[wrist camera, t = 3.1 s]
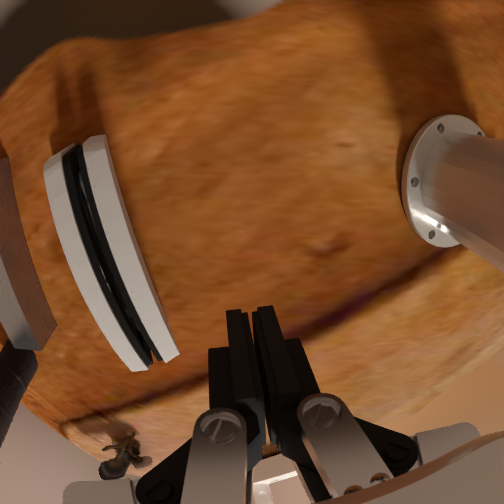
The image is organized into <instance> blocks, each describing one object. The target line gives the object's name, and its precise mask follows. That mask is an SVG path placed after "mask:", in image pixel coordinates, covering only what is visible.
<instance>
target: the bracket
mask: <svg viewBox="0 0 504 504" xmlns="http://www.w3.org/2000/svg"><path fill="white" fill-rule="evenodd" d="M296 475H298V474H297V472H296V470H295V468H294V466H293V463H292V460H291V459H289V458H287V457H285V456H283V455H282V453H281V454H279V455H276V456H272V457H269V458H266V459H263V460H260V461H259V462H258V463H257V465H256V466H255V467H254V468H253V494H252V504H271V503H274V500H273V497H272V493H271V490H270V487H269V483H272V482H276V481H280V480H283V479H287V478H290V477H293V476H296Z"/></svg>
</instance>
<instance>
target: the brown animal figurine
mask: <svg viewBox="0 0 504 504" xmlns="http://www.w3.org/2000/svg"><path fill="white" fill-rule="evenodd" d="M134 436H135V433H133V434H132V435H130V436H128V437H127V438H125V440H124V441H123V442H121V443H120V444H119V443H118V442H117V441H116V440H114V439H113V437H111V439H112V445H109V446H106V447H105V448H103V449H102V451H107V450H111V449H115V450H116V451H115V452H116V453H117V455H116V457H115V458H113V459H110V460H108V461H104V462H102V463H101V466H100V467H99V470H98V471H99V475H100V477H101V479H103V480H115V479H119V478H121V477H124V476H125V473H126V471H127V469H128V467H129V465H131V464H133V465H134V467H135V468H136V469H139V468H145V467H148V466H150V465H151V464H152V462H153V461H152V458H151V457H149V456H144V457H140V456H138V455H137V454H136V452H135V448H140V447H139V446H136V445H134V444H133V438H134Z"/></svg>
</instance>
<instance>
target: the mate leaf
mask: <svg viewBox="0 0 504 504" xmlns="http://www.w3.org/2000/svg"><path fill="white" fill-rule="evenodd" d="M0 322H1V324H2V326H3V328H4V330H5V331H6V333H7V335H8V337H9V339H10V341H11V343H12V344H13V346H14V348H17V349H27V350H38V351H42V350H43V348H44V346H45V345H46V343H47V341H48V340H49V338H50V336H51V335H52V333H53V332H54V330H55V328H56V327H57V324H56V321H55V319H54V317H53V315H52V312H51V310H50V308H49V305H48V303H47V300H46V298H45V295H44V293H43V290H42V288H41V285H40V282H39V280H38V277H37V274H36V271H35V268H34V265H33V262H32V259H31V256H30V253H29V250H28V246H27V243H26V239H25V236H24V232H23V228H22V225H21V221H20V217H19V212H18V208H17V204H16V199H15V194H14V189H13V184H12V178H11V172H10V165H9V158H8V157H6V158H2V159H0Z"/></svg>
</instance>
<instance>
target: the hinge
mask: <svg viewBox="0 0 504 504" xmlns="http://www.w3.org/2000/svg"><path fill="white" fill-rule="evenodd" d="M43 172H44V179H45V185H46V189H47V194H48V199H49V203H50V207H51V211H52V215H53V219H54V222H55V226H56V229H57V232H58V235H59V238H60V241H61V244H62V247H63V250H64V253H65V255H66V258H67V261H68V263H69V266H70V269H71V271H72V274H73V276H74V278H75V281H76V283H77V285H78V287H79V290H80V292H81V294H82V296H83V298H84V300H85V302H86V303H87V305H88V307H89V309H90V311H91V313H92V315H93V317H94V318H95V320H96V322H97V324H98V326H99V327H100V329H101V330H102V332H103V334H104V335H105V337H106V338H107V340H108V341H109V343H110V344H111V346H112V347H113V349H114V350H115V352H116V353H117V354H118V356H119V357H120V358H121V359H122V361H123V362H124V363H125V364H126V365H127V367H128V368H129V369H130V370H131V371H132V372H135V371H142V370H148V369H149V365H151V364H153V359H152V355H151V351H152V352H153V354H154V356H155V357H156V359H157V360H158V361H161V360H164V361H165V363H166V362H168V361H169V360H171V359H172V358H174V357H175V356H177V355H178V354H180V353H179V350H178V348H177V345H176V342H175V340H174V337H173V334H172V331H171V328H170V326H169V323H168V320H167V317H166V315H165V313H164V310H163V308H162V305H161V303H160V301H159V298H158V296H157V293H156V291H155V288H154V286H153V283H152V281H151V278H150V275H149V273H148V270H147V268H146V265H145V262H144V259H143V257H142V254H141V251H140V248H139V246H138V243H137V240H136V237H135V234H134V231H133V228H132V225H131V222H130V219H129V216H128V213H127V210H126V206H125V203H124V200H123V197H122V193H121V190H120V187H119V183H118V180H117V176H116V172H115V169H114V165H113V161H112V158H111V154H110V150H109V146H108V142H107V137H106V134H105V135H97V136H91V137H89V138H88V139H87V140H86V141H85V142H84V143H83V145H82V146H80V144H79V145H77V146H75V143H73V144H71V145H70V146H68V147H66V148H65V149H63V150H62V151H60V152H59V153H57V154H55V155H54V156H52V157H51V158H50V159H49V160H48V161H47V162H45V163H44V167H43ZM150 349H151V350H150Z"/></svg>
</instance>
